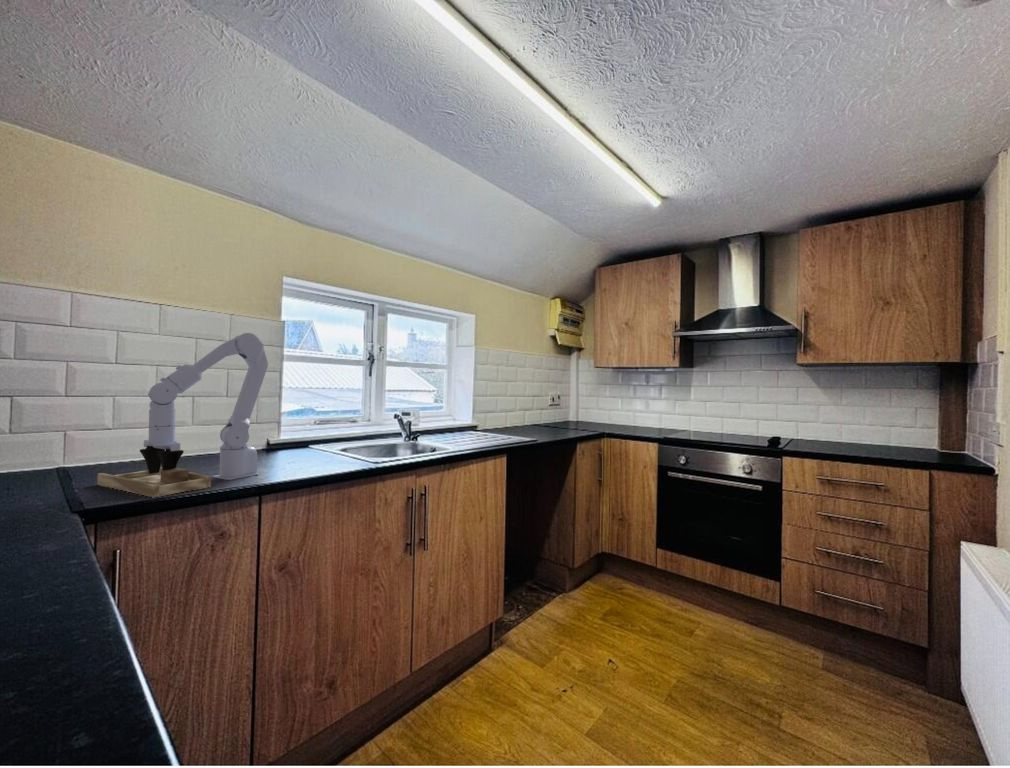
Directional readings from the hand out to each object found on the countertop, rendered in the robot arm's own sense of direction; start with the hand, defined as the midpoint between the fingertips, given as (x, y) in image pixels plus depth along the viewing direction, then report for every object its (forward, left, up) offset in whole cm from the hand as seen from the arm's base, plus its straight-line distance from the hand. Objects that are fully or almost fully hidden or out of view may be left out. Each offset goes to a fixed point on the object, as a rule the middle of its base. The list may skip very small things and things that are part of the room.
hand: (161, 474), depth 119 cm
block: (0, +7, -1) cm, 7 cm away
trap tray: (+2, +1, -3) cm, 3 cm away
